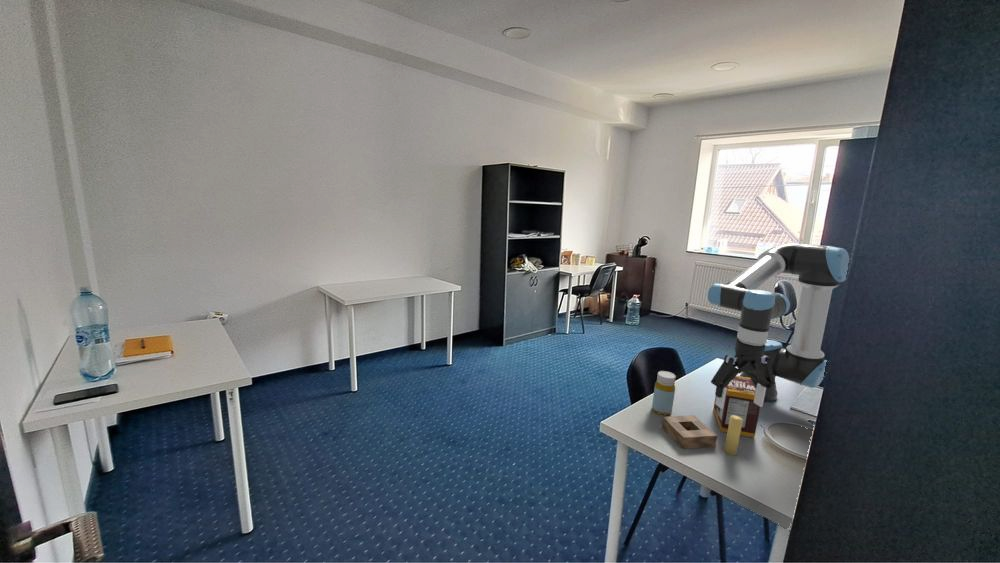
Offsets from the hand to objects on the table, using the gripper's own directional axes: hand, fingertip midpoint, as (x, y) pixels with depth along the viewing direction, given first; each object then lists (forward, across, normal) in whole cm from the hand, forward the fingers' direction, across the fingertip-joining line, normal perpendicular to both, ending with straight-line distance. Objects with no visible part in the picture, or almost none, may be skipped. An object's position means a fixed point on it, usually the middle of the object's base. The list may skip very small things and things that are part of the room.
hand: (738, 405), depth 120 cm
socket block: (+16, +9, -9) cm, 21 cm away
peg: (+16, 0, 0) cm, 17 cm away
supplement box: (+17, -13, -15) cm, 26 cm away
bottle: (+17, +9, -25) cm, 31 cm away
